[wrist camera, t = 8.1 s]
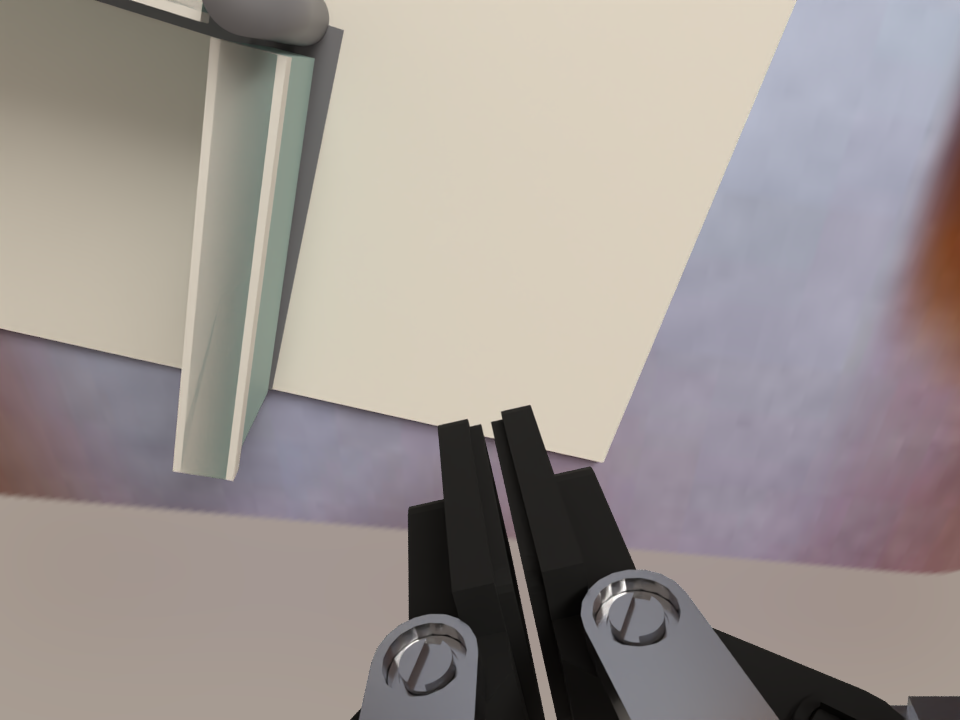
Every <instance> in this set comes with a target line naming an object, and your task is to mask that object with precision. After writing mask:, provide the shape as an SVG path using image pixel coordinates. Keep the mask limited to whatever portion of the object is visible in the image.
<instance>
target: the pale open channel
mask: <svg viewBox="0 0 960 720" xmlns="http://www.w3.org/2000/svg"><path fill="white" fill-rule="evenodd" d="M314 61H315V58H311V57H308V56H304V55H300V54H296V53H292V52H288V51H285V50H281V49H277V48H273V47H266V46H259V45H253V44H246V43H239V42H232V41H226V40H222V39H218V38H212V37H211V40H210V51H209V63H208V74H207V85H206V97H205V108H204V120H203V131H202V143H201V154H200V165H199V177H198V188H197V200H196V211H195V223H194V234H193V246H192V257H191V268H190V280H189V291H188V303H187V314H186V326H185V337H184V348H183V360H182V371H181V383H180V394H179V406H178V417H177V428H176V440H175V451H174V463H173V471H174V472H180V473H186V474H193V475H199V476H205V477H212V478H218V479H225V480H231V481H233V480H234V478H235V476H236V474H237V471H238V469H239V462H240V454H241V447H242V445H243V443H244V441H245V438H246V436H247V434H248V432H249V430H250V428H251V426H252V424H253V422H254V420H255V418H256V416H257V414H258V411H259V409H260V407H261V405H262V403H263V401H264V399H265V397H266V395H267V393H268V386H269V379H270V372H271V365H272V358H273V351H274V344H275V337H276V330H277V323H278V316H279V309H280V301H281V294H282V287H283V280H284V273H285V266H286V259H287V252H288V245H289V238H290V231H291V224H292V217H293V209H294V202H295V195H296V188H297V181H298V174H299V167H300V160H301V153H302V146H303V139H304V132H305V125H306V117H307V110H308V103H309V96H310V89H311V82H312V75H313V68H314Z"/></svg>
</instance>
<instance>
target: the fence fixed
mask: <svg viewBox="0 0 960 720" xmlns="http://www.w3.org/2000/svg"><path fill="white" fill-rule="evenodd" d="M132 1H136V2H139V3H142V4H145V5H148V6H152V7H155V8H158V9H161V10H164V11H168V12H171V13H174V14H177V15H180V16H183V17H187V18H190V19H193V20H196V21H199V22H204V23H209V16H211V18H212V19H213V20H214V21H215V22H216V23H217V24H218V25H219V26H220V27H222V28H223V29H225V30H226V31H228V32H230V33H233V34H236V35H240V36H245V37H250V38H256V39H261V40H267V41H272V42H278V43H283V44H289V45H294V46H300V47H307V46H311V45H314V44H316V43H317V42H319V41H320V40H321V39H322V38H323V36H324V35H325V33H326V31H327V28H328V25H329V12H328V8H327V6H326V3H325V2H324V0H132Z"/></svg>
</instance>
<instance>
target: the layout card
mask: <svg viewBox="0 0 960 720" xmlns="http://www.w3.org/2000/svg"><path fill="white" fill-rule="evenodd" d="M796 1H797V0H324V2H325V3H326V6H327V8H328V12H329V25H328V28H327V31H326V33H325V35H324V36H323V38H322V39H321V40H320V41H319V42H317V43H316V44H314V45H311V46H307V47H300V46H294V45H289V44H283V43H278V42H272V41H267V40H261V39H256V38H250V37H245V36H240V35H236V34H233V33H230V32H228V31H226V30H225V29H223V28H222V27H220V26H219V25H218V24H217V23H216V22H215V21H214V20H213V19H212V18H211V16H209V23H204V22H199V21H196V20H193V19H190V18H187V17H183V16H180V15H177V14H174V13H171V12H168V11H164V10H161V9H158V8H155V7H152V6H148V5H145V4H142V3H139V2H136V1H132V0H0V328H1V329H5V330H10V331H14V332H19V333H23V334H27V335H32V336H36V337H41V338H45V339H50V340H54V341H59V342H63V343H68V344H72V345H77V346H81V347H86V348H90V349H95V350H99V351H104V352H108V353H113V354H117V355H122V356H126V357H131V358H135V359H140V360H144V361H149V362H153V363H158V364H162V365H167V366H171V367H176V368H180V369H182V360H183V348H184V337H185V326H186V314H187V303H188V291H189V280H190V268H191V257H192V246H193V234H194V223H195V211H196V200H197V188H198V177H199V165H200V154H201V143H202V131H203V120H204V108H205V97H206V85H207V74H208V63H209V51H210V40H211V37H212V38H218V39H222V40H226V41H232V42H239V43H246V44H253V45H259V46H266V47H273V48H277V49H281V50H285V51H288V52H292V53H296V54H300V55H304V56H308V57H311V58H315V61H314V68H313V75H312V82H311V89H310V96H309V103H308V110H307V117H306V125H305V132H304V139H303V146H302V153H301V160H300V167H299V174H298V181H297V188H296V195H295V202H294V209H293V217H292V224H291V231H290V238H289V245H288V252H287V259H286V266H285V273H284V280H283V287H282V294H281V301H280V309H279V316H278V323H277V330H276V337H275V344H274V351H273V358H272V365H271V372H270V379H269V386H268V390H272V389H274V390H279V391H283V392H288V393H292V394H297V395H301V396H306V397H310V398H315V399H319V400H324V401H328V402H333V403H337V404H342V405H346V406H351V407H355V408H360V409H364V410H369V411H373V412H377V413H382V414H386V415H391V416H395V417H400V418H404V419H409V420H413V421H418V422H422V423H427V424H431V425H436V426H438V425H442V424H446V423H451V422H455V421H460V420H464V419H468V421H469V425H470V426H474V425H479V424H481V425H482V429H483V434H484V436H485V437H490V438H494V434H493V430H492V425H491V422H492V421H497V420H501V419H502V416H501V411H504V410H509V409H513V408H518V407H522V406H527V405H531V408H532V410H533V413H534V416H535V419H536V422H537V425H538V428H539V431H540V434H541V437H542V440H543V443H544V446H545V449H546V450H548V451H552V452H557V453H561V454H566V455H570V456H575V457H579V458H584V459H588V460H593V461H597V462H602V463H603V462H604V460H605V457H606V455H607V452H608V450H609V448H610V445H611V443H612V440H613V438H614V436H615V433H616V431H617V428H618V426H619V424H620V421H621V419H622V417H623V414H624V412H625V409H626V407H627V405H628V402H629V400H630V397H631V395H632V393H633V390H634V388H635V385H636V383H637V381H638V378H639V376H640V374H641V371H642V369H643V366H644V364H645V362H646V359H647V357H648V354H649V352H650V350H651V347H652V345H653V342H654V340H655V338H656V335H657V333H658V331H659V328H660V326H661V323H662V321H663V319H664V316H665V314H666V311H667V309H668V307H669V304H670V302H671V299H672V297H673V295H674V292H675V290H676V287H677V285H678V283H679V280H680V278H681V276H682V273H683V271H684V268H685V266H686V264H687V261H688V259H689V256H690V254H691V252H692V249H693V247H694V244H695V242H696V240H697V237H698V235H699V233H700V230H701V228H702V225H703V223H704V221H705V218H706V216H707V213H708V211H709V209H710V206H711V204H712V201H713V199H714V197H715V194H716V192H717V189H718V187H719V185H720V182H721V180H722V178H723V175H724V173H725V170H726V168H727V166H728V163H729V161H730V158H731V156H732V154H733V151H734V149H735V146H736V144H737V142H738V139H739V137H740V135H741V132H742V130H743V127H744V125H745V123H746V120H747V118H748V115H749V113H750V111H751V108H752V106H753V103H754V101H755V99H756V96H757V94H758V92H759V89H760V87H761V84H762V82H763V80H764V77H765V75H766V72H767V70H768V68H769V65H770V63H771V60H772V58H773V56H774V53H775V51H776V48H777V46H778V44H779V41H780V39H781V37H782V34H783V32H784V29H785V27H786V25H787V22H788V20H789V17H790V15H791V13H792V10H793V8H794V5H795V3H796Z"/></svg>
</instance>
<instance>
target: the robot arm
mask: <svg viewBox="0 0 960 720" xmlns="http://www.w3.org/2000/svg"><path fill="white" fill-rule="evenodd" d="M501 416H502V419H501V420H497V421H492V422H491V425H492V430H493V434H494V439H495V443H496V448H497V452H498V457H499V461H500V466H501V470H502V475H503V479H504V484H505V488H506V493H507V497H508V502H509V506H510V511H511V515H512V520H513V524H514V529H515V533H516V538H517V543H518V547H519V551H520V556H521V561H522V565H523V569H524V574H525V579H526V583H527V588H528V592H529V596H530V601H531V605H532V610H533V614H534V618H535V623H536V628H537V632H538V637H539V641H540V646H541V650H542V655H543V659H544V664H545V668H546V672H547V677H548V681H549V686H550V690H551V695H552V699H553V703H554V708H555V713H556V717H557V720H960V696H909V697H908V705H906V706H905V705H904V706H903V705H902V706H901V705H900V706H897V705H895V706H894V705H891V706H890V705H889V704H887V703H886V702H885V701H883V700H881V699H879V698H878V697H876V696H874V695H872V694H870V693H869V692H867V691H864V690H862V689H860V688H858V687H855V686H853V685H850V684H848V683H845V682H843V681H840V680H838V679H836V678H833V677H831V676H828V675H826V674H823V673H821V672H819V671H816V670H814V669H811V668H809V667H806V666H804V665H802V664H799V663H797V662H794V661H792V660H789V659H787V658H785V657H782V656H780V655H777V654H775V653H772V652H770V651H768V650H765V649H763V648H760V647H758V646H755V645H753V644H750V643H748V642H745V641H743V640H741V639H738V638H736V637H733V636H731V635H729V634H726V633H724V632H721V631H719V630H716V629H714V628H712V627H711V626H710V625H709V623H708V622H707V620H706V619H705V618H704V617H703V615H702V614H701V612H700V611H699V610H698V608H697V607H696V606H695V604H694V603H693V601H692V600H691V599H690V598H689V596H688V595H687V593H686V592H685V591H684V590H683V589H682V588H681V587H680V586H679V585H678V584H677V583H676V582H675V581H673V580H671V579H669V578H667V577H666V576H664V575H662V574H659V573H655V572H651V571H647V570H636V568H635V566H634V563H633V561H632V559H631V556H630V554H629V552H628V549H627V547H626V545H625V542H624V540H623V538H622V536H621V533H620V531H619V529H618V526H617V524H616V522H615V519H614V517H613V515H612V512H611V510H610V508H609V505H608V503H607V501H606V498H605V496H604V494H603V491H602V489H601V487H600V485H599V482H598V480H597V478H596V475H595V473H594V471H593V469H592V468H591V467H586V468H581V469H577V470H572V471H568V472H563V473H559V474H554V472H553V469H552V466H551V464H550V461H549V458H548V455H547V452H546V449H545V446H544V443H543V440H542V437H541V434H540V431H539V428H538V425H537V422H536V419H535V416H534V413H533V410H532V408H531V405H527V406H522V407H518V408H513V409H509V410H504V411H501ZM438 435H439V447H440V459H441V471H442V482H443V494H444V499H443V500H438V501H434V502H429V503H425V504H420V505H416V506H411V507H409V509H408V558H409V559H408V561H409V562H408V563H409V621H407V622H405V623H403V624H401V625H399V626H398V627H397V628H395V629H394V630H393V631H392V632H390V633H389V634H388V635H387V636H386V637H385V639H384V640H383V641H382V643H381V644H380V645H379V646H378V648H377V650H376V652H375V655H374V657H373V660H372V662H371V667H370V671H369V676H368V681H367V686H366V689H365V695H364V699H363V703H362V708H361V709H360V710H359V711H358V712H357V713H356V714H355V715H354V716H353V718H352V719H351V720H545V717H544V713H543V707H542V702H541V697H540V693H539V688H538V683H537V678H536V673H535V668H534V663H533V658H532V653H531V648H530V644H529V639H528V634H527V629H526V624H525V619H524V614H523V610H522V604H521V599H520V595H519V590H518V585H517V580H516V575H515V570H514V565H513V561H512V556H511V551H510V546H509V542H508V538H507V533H506V529H505V525H504V520H503V516H502V512H501V507H500V503H499V499H498V494H497V490H496V486H495V481H494V477H493V473H492V468H491V464H490V460H489V455H488V451H487V447H486V442H485V438H484V434H483V429H482V425H481V424H479V425H474V426H470V425H469V421H468V419H464V420H460V421H455V422H451V423H446V424H442V425H438Z"/></svg>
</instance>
